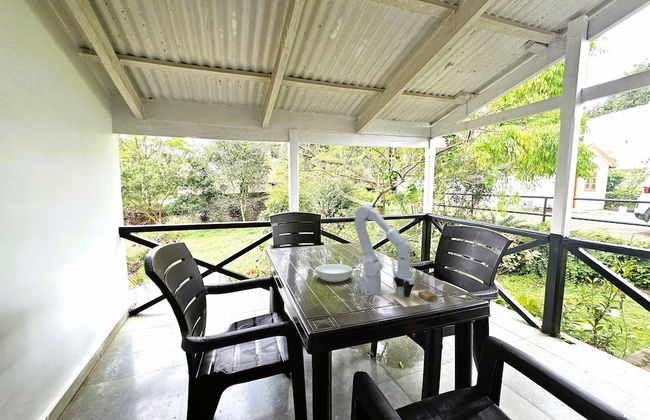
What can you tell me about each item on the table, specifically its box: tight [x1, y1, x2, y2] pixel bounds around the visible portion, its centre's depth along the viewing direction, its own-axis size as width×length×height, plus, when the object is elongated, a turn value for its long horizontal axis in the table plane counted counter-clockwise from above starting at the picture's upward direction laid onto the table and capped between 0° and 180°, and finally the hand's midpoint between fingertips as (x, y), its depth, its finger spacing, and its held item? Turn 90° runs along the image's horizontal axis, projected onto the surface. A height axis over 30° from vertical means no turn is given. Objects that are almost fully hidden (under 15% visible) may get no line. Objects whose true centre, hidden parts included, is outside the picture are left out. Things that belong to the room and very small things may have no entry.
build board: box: [387, 289, 445, 308], centre depth 128 cm, size 20×16×1 cm
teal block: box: [397, 287, 408, 298], centre depth 130 cm, size 4×4×4 cm
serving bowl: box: [315, 263, 353, 283], centre depth 158 cm, size 21×21×7 cm
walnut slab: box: [418, 290, 439, 302], centre depth 127 cm, size 6×6×2 cm
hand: (403, 294), depth 130 cm, fingers open, 6 cm apart
